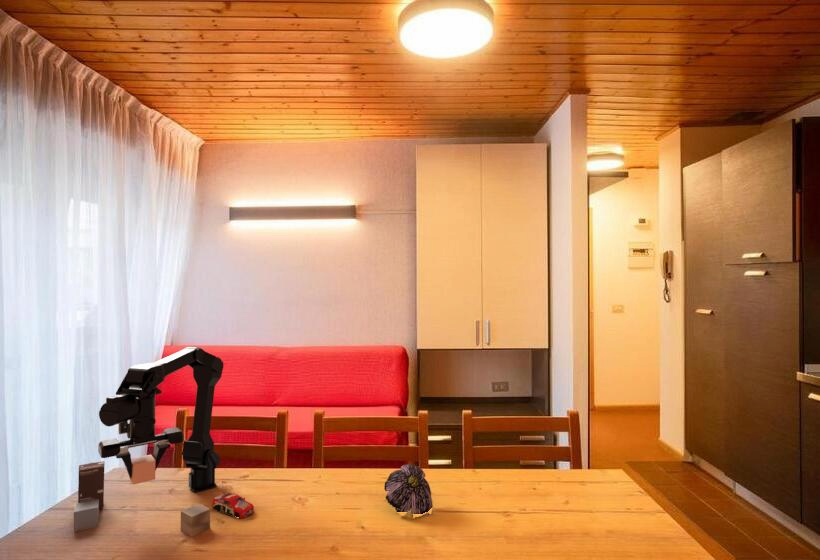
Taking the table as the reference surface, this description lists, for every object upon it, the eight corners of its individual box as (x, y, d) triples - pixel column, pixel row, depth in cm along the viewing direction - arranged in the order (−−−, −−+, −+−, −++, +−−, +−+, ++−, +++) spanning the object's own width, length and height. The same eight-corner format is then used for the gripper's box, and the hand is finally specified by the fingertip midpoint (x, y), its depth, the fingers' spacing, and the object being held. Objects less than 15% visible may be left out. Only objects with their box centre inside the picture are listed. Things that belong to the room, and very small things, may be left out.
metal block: (199, 522, 125) (199, 503, 125) (210, 528, 122) (210, 509, 122) (180, 530, 121) (180, 511, 120) (191, 536, 118) (191, 516, 118)
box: (77, 514, 127) (78, 470, 127) (78, 507, 131) (78, 464, 131) (104, 509, 131) (104, 465, 131) (104, 502, 135) (104, 460, 134)
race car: (258, 513, 130) (258, 498, 130) (242, 522, 125) (242, 507, 125) (225, 501, 137) (225, 487, 137) (209, 509, 132) (209, 495, 132)
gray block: (98, 517, 126) (98, 499, 126) (97, 526, 122) (97, 507, 122) (75, 522, 124) (75, 503, 124) (73, 531, 119) (73, 512, 119)
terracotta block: (150, 473, 126) (150, 454, 126) (155, 479, 123) (155, 460, 123) (129, 478, 123) (129, 458, 123) (133, 484, 119) (133, 464, 119)
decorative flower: (386, 487, 125) (393, 450, 139) (375, 520, 128) (383, 481, 143) (439, 502, 125) (440, 464, 139) (427, 535, 128) (429, 495, 143)
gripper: (173, 402, 135) (173, 456, 135) (95, 413, 123) (95, 473, 123) (184, 411, 126) (184, 469, 127) (101, 424, 114) (101, 489, 115)
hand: (142, 474), depth 123 cm, fingers closed on terracotta block, 5 cm apart
